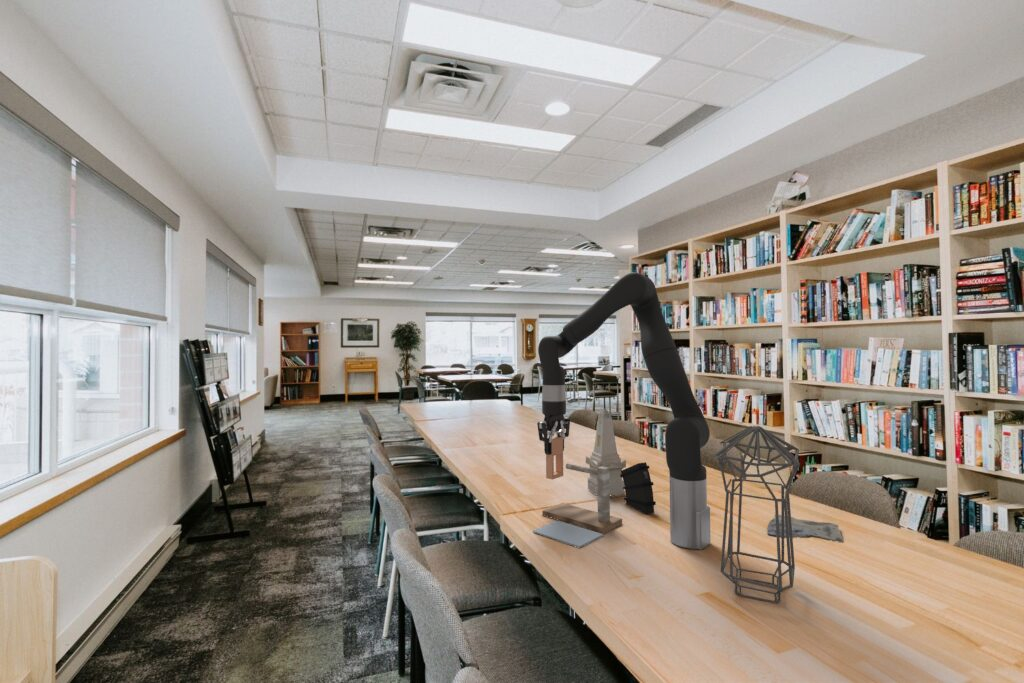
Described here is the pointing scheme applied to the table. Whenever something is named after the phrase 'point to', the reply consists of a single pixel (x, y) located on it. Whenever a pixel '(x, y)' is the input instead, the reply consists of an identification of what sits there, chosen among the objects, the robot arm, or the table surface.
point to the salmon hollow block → (558, 451)
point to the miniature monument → (606, 456)
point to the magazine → (638, 488)
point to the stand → (585, 517)
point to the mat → (568, 533)
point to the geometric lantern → (784, 502)
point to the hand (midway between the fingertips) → (554, 452)
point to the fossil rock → (807, 529)
